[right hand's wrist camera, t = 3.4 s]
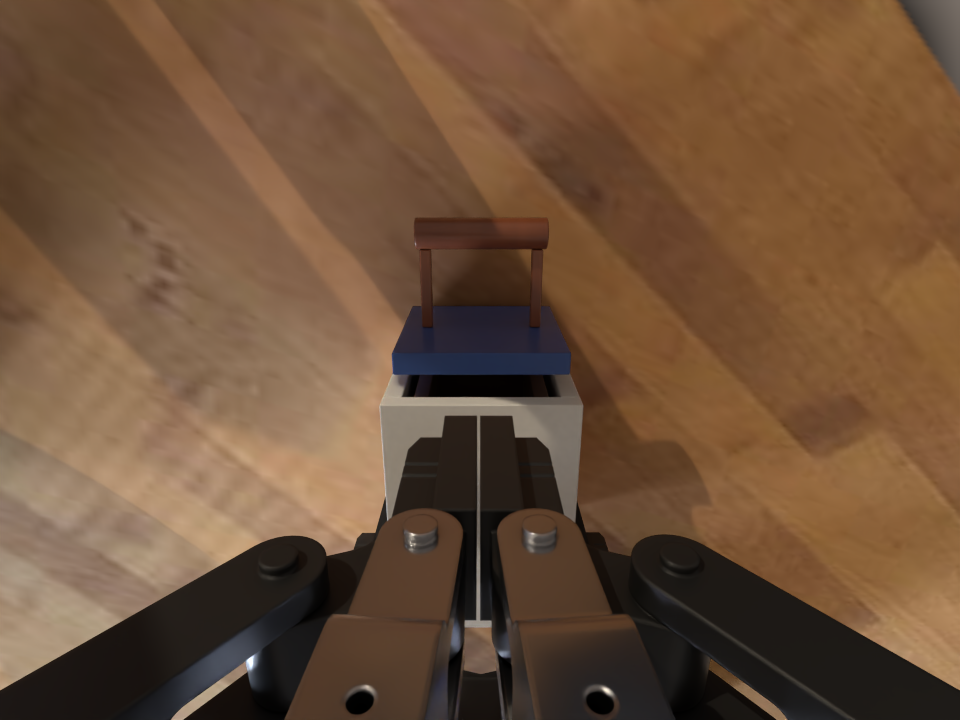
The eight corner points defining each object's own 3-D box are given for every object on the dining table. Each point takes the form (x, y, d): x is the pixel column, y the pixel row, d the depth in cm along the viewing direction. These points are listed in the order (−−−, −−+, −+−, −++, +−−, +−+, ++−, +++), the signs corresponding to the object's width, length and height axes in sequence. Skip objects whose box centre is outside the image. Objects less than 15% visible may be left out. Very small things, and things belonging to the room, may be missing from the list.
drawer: (408, 209, 35) (384, 228, 26) (553, 209, 35) (578, 228, 26) (420, 478, 41) (403, 565, 33) (542, 478, 41) (558, 564, 33)
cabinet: (406, 335, 39) (378, 404, 28) (555, 335, 39) (584, 404, 28) (415, 512, 44) (394, 628, 33) (546, 512, 44) (568, 627, 33)
